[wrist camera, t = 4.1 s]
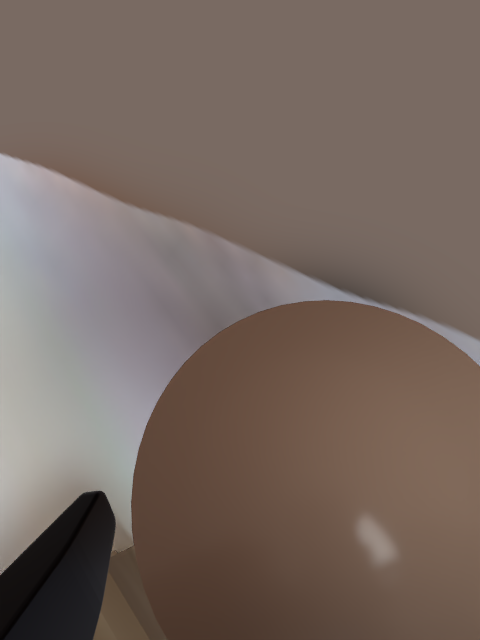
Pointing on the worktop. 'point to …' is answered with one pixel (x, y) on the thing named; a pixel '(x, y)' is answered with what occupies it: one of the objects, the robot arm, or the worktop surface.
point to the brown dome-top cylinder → (314, 482)
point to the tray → (126, 603)
